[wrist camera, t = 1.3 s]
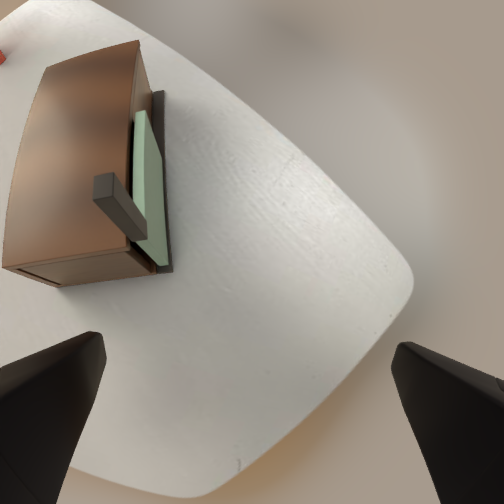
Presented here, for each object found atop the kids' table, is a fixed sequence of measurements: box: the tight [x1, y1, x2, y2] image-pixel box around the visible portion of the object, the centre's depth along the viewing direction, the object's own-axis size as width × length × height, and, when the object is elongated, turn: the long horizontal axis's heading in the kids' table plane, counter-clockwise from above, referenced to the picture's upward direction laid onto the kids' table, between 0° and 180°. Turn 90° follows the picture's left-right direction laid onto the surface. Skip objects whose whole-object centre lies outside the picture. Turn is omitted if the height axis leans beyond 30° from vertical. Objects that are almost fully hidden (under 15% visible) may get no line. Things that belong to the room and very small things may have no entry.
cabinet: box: [2, 40, 173, 287], centre depth 22 cm, size 20×11×8 cm, turn 9°
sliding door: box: [92, 110, 169, 266], centre depth 19 cm, size 10×1×13 cm, turn 9°
